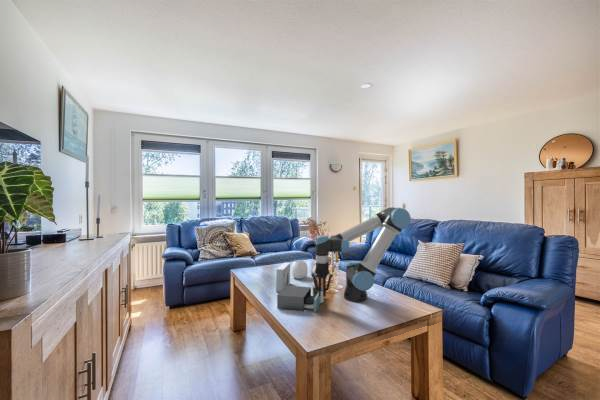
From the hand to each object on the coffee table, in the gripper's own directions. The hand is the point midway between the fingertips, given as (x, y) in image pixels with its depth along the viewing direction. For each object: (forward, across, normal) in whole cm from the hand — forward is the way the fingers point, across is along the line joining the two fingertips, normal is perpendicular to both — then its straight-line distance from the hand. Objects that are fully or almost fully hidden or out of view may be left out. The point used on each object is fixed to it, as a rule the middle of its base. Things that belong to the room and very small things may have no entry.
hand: (322, 301), depth 157 cm
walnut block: (+3, +6, -14) cm, 16 cm away
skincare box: (+4, +34, -28) cm, 44 cm away
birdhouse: (+3, +10, 0) cm, 10 cm away
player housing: (+3, +17, 0) cm, 17 cm away
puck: (+1, +8, 0) cm, 8 cm away
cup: (+3, +29, -54) cm, 62 cm away
